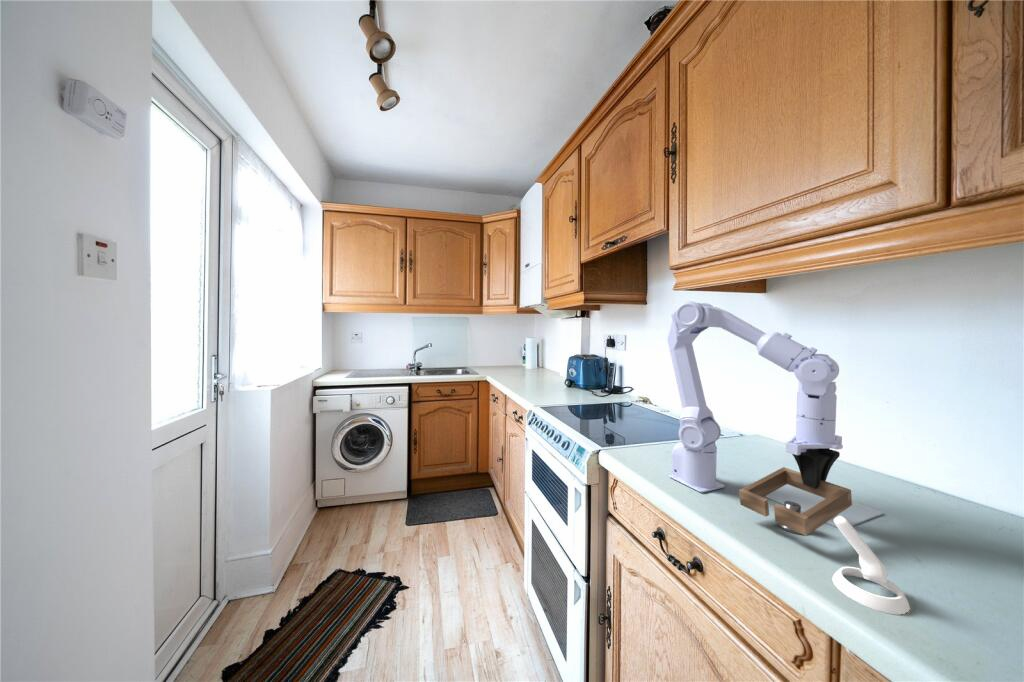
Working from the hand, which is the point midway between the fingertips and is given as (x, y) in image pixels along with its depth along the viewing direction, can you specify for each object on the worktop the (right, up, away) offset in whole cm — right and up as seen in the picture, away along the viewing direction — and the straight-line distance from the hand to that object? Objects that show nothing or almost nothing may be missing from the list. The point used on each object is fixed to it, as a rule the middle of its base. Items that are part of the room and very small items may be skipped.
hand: (813, 485), depth 67 cm
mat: (+7, -7, +8) cm, 12 cm away
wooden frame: (-6, -3, -2) cm, 7 cm away
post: (-6, -7, -2) cm, 9 cm away
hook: (-8, -8, -18) cm, 21 cm away
